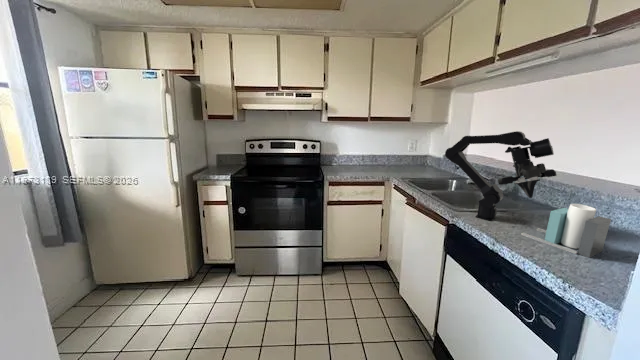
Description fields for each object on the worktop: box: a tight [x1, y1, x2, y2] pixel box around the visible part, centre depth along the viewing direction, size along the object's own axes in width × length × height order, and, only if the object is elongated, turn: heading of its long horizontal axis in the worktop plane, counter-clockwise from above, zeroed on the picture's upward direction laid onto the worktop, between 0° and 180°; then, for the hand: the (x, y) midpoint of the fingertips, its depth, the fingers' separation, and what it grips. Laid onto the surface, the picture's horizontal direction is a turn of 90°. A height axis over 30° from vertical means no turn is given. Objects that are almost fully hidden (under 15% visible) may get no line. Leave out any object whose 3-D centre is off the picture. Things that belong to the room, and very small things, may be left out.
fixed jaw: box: [521, 216, 612, 259], centre depth 98 cm, size 20×12×12 cm, turn 27°
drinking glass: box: [560, 203, 597, 250], centre depth 95 cm, size 7×7×15 cm
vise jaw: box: [544, 207, 569, 245], centre depth 99 cm, size 3×10×12 cm, turn 117°
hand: (530, 197), depth 110 cm, fingers closed
